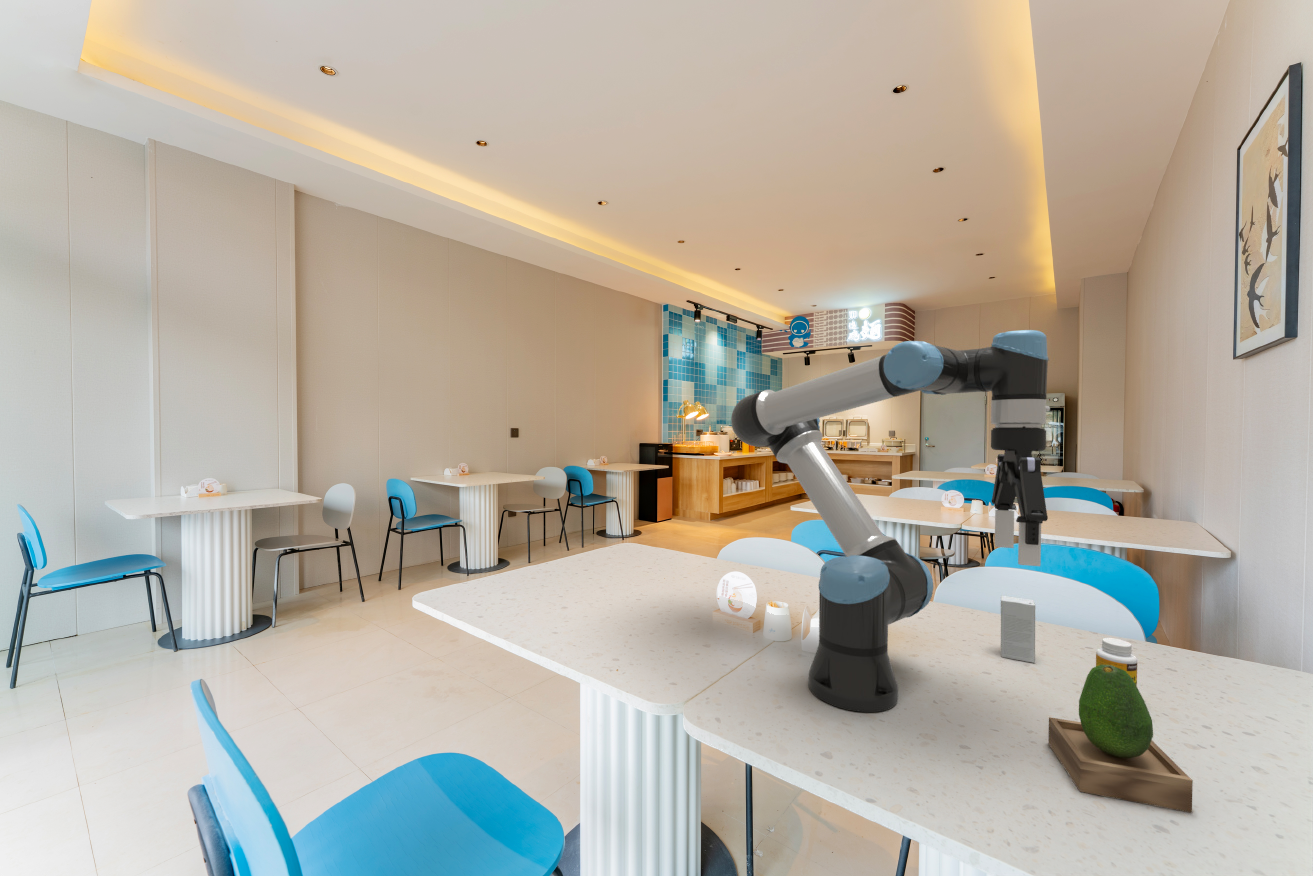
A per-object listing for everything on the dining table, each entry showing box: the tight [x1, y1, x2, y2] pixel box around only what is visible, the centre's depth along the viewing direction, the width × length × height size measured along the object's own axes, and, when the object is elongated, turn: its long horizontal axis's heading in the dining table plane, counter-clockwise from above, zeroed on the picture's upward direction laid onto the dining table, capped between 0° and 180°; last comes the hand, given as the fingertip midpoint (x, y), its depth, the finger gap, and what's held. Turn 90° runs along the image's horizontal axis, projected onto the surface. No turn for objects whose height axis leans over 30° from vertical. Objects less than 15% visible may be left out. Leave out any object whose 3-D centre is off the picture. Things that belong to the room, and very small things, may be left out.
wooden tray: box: [1047, 716, 1194, 813], centre depth 74 cm, size 12×12×4 cm
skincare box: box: [1000, 595, 1036, 664], centre depth 113 cm, size 6×4×12 cm
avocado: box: [1078, 665, 1154, 758], centre depth 73 cm, size 8×8×12 cm
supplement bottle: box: [1095, 637, 1138, 687], centre depth 95 cm, size 6×6×10 cm
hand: (1015, 555), depth 88 cm, fingers open, 13 cm apart
